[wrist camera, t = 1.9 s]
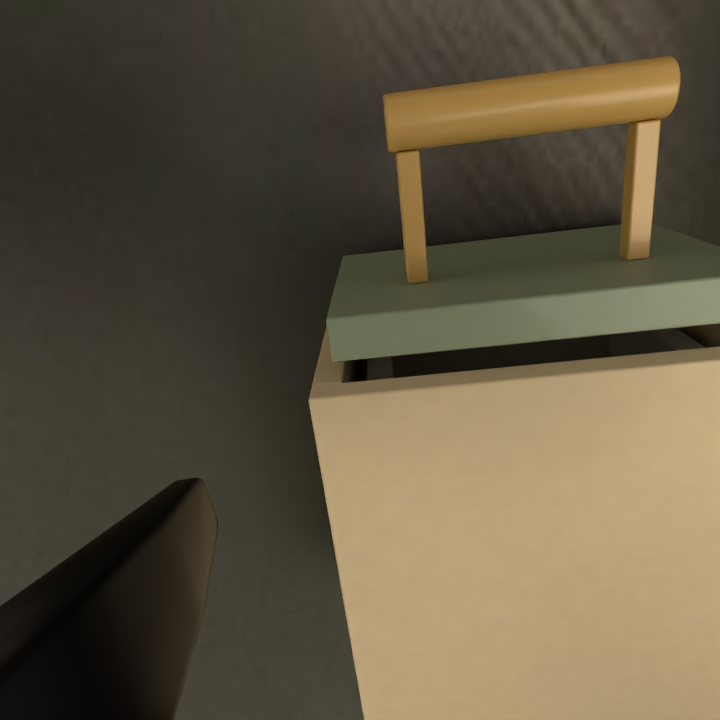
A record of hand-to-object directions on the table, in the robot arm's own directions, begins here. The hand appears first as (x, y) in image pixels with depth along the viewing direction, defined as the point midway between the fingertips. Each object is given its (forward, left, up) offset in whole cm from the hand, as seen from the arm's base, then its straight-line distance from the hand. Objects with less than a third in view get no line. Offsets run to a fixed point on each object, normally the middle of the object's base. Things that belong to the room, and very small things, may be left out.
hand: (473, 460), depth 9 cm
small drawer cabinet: (-5, +6, -13) cm, 16 cm away
